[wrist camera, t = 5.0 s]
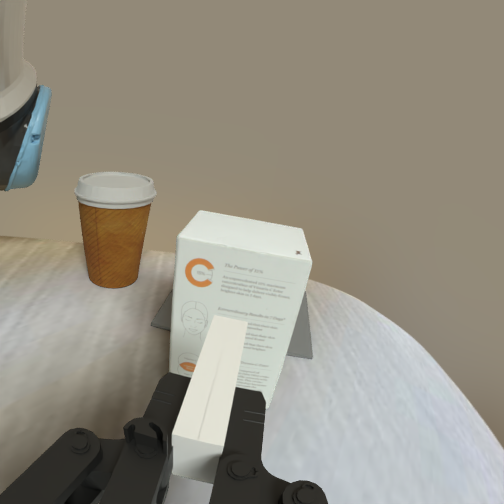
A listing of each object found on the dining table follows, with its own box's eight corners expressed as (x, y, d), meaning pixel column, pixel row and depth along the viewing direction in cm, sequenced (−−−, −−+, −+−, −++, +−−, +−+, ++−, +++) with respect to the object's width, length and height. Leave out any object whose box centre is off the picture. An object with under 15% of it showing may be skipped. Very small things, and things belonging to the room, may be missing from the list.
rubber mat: (151, 325, 30) (151, 323, 30) (186, 269, 43) (186, 267, 43) (311, 359, 30) (312, 356, 30) (305, 293, 43) (305, 291, 43)
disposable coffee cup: (120, 253, 44) (125, 168, 39) (166, 279, 39) (175, 183, 35) (63, 271, 36) (61, 176, 31) (104, 305, 32) (103, 193, 27)
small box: (270, 360, 29) (305, 227, 24) (268, 411, 23) (315, 261, 18) (184, 344, 29) (198, 207, 24) (166, 392, 23) (175, 234, 18)
